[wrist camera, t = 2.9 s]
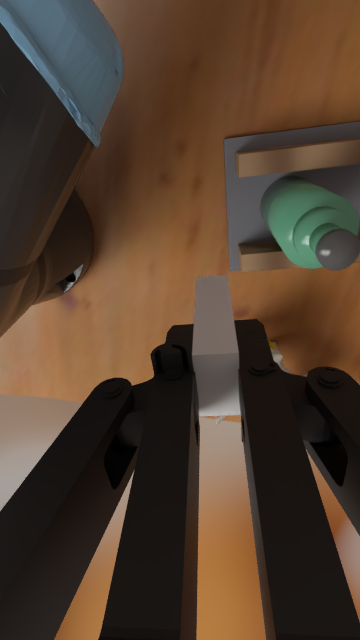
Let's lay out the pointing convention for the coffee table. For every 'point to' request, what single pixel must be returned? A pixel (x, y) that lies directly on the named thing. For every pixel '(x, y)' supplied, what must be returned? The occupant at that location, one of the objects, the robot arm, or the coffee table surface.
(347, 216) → the bottle
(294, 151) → the rest
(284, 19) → the coffee table surface
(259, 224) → the mat
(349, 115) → the coffee table surface
